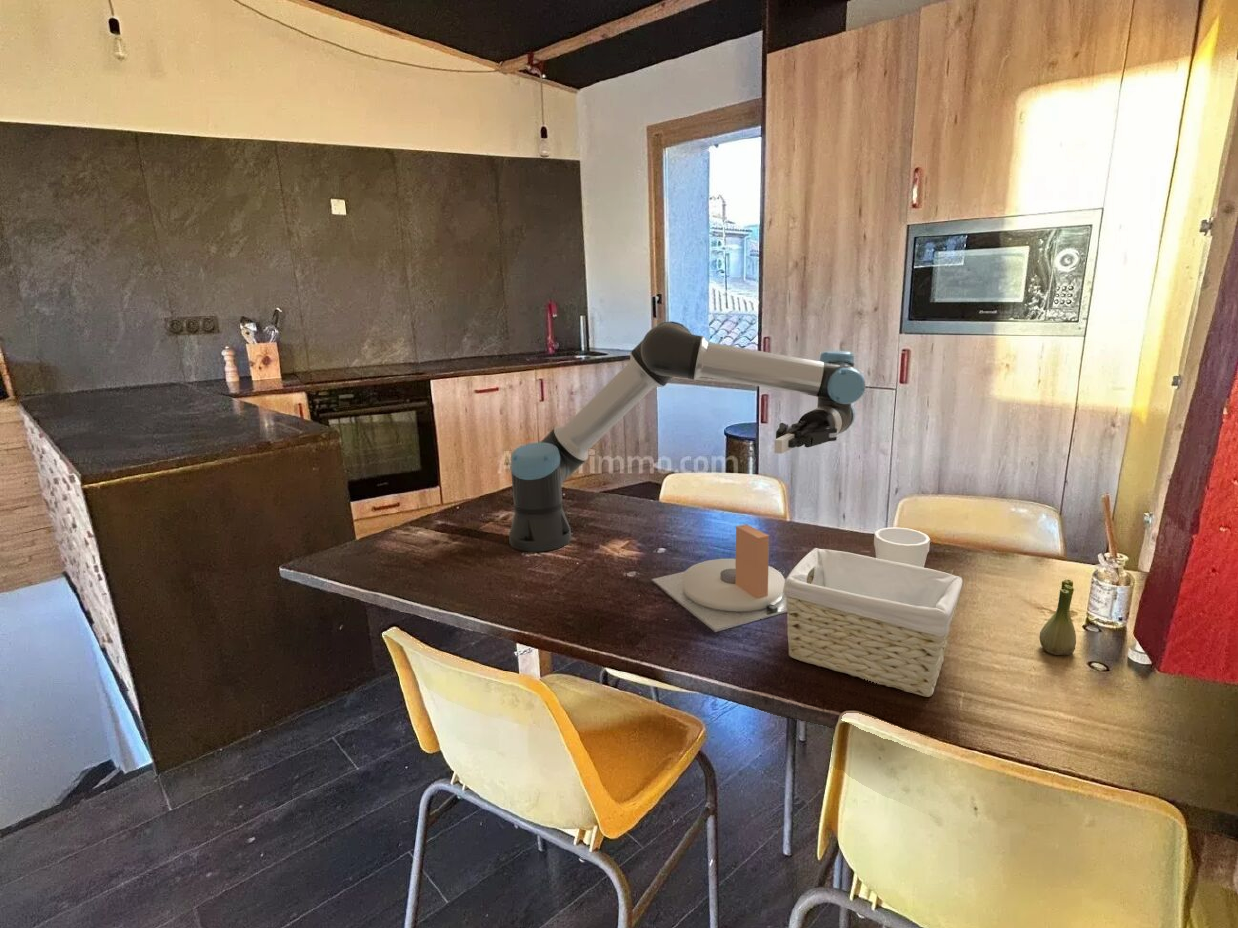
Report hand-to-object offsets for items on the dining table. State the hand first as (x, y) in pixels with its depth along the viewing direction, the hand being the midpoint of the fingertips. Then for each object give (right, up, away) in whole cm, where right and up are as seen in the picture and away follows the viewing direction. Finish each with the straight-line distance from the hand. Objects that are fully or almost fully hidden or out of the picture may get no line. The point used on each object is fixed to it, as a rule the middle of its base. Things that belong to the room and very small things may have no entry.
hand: (778, 446), depth 129 cm
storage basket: (+9, -35, -23) cm, 43 cm away
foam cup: (+22, -30, -4) cm, 37 cm away
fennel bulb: (+40, -34, -22) cm, 57 cm away
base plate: (-9, -29, +2) cm, 30 cm away
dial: (-9, -29, +2) cm, 30 cm away
